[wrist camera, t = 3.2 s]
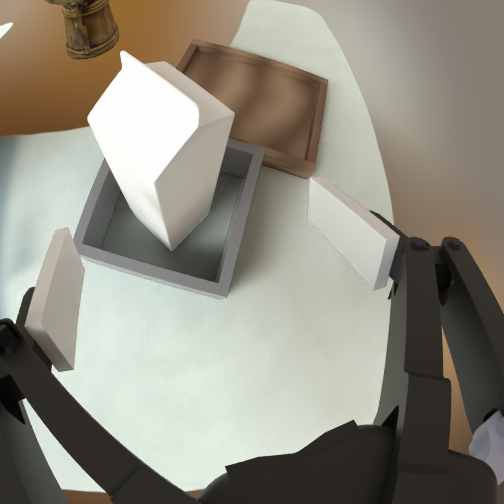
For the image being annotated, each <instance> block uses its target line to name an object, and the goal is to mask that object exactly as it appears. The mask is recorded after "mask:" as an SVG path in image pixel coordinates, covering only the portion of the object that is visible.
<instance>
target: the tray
mask: <svg viewBox="0 0 504 504" xmlns="http://www.w3.org/2000/svg"><path fill="white" fill-rule="evenodd" d="M176 69H177V70H178V71H180V72H181V73H183V74H184V75H185V76H187V77H188V78H190V79H191V80H192V81H194V82H195V83H196V84H198V85H199V86H200V87H202V88H203V89H204V90H206V91H207V92H208V93H210V94H211V95H212V96H214V97H215V98H216V99H218V100H219V101H220V102H221V103H223V104H224V105H225V106H227V107H228V108H229V109H230V110H232V111H233V112H234V113H235V115H234V119H233V123H232V126H231V130H230V134H229V137H228V138H230V139H233V140H237V141H240V142H243V143H247V144H250V145H253V146H256V147H260V148H263V149H265V152H264V155H263V159H262V163H261V165H265V166H268V167H271V168H274V169H277V170H280V171H283V172H286V173H289V174H292V175H295V176H298V177H301V178H304V179H307V178H308V177H309V176H310V175H311V174H312V173H313V171H314V167H315V161H316V156H317V150H318V143H319V137H320V131H321V125H322V118H323V112H324V105H325V98H326V91H327V84H328V80H327V79H324V78H322V77H319V76H317V75H314V74H312V73H309V72H306V71H304V70H301V69H298V68H295V67H293V66H290V65H287V64H284V63H281V62H278V61H275V60H272V59H268V58H265V57H262V56H259V55H255V54H252V53H248V52H245V51H241V50H237V49H233V48H229V47H225V46H221V45H217V44H213V43H208V42H203V41H199V40H193V41H192V43H191V44H190V46H189V48H188V49H187V51H186V53H185V54H184V56H183V58H182V59H181V61H180V63H179V65H178V66H177V68H176Z"/></svg>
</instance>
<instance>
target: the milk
mask: <svg viewBox="0 0 504 504" xmlns="http://www.w3.org/2000/svg"><path fill="white" fill-rule="evenodd" d="M120 56H121V62H122V70H121V71H120V72H119V73H118V75H117V76H116V77H115V79H114V80H113V81H112V83H111V84H110V85H109V87H108V88H107V89H106V91H105V92H104V94H103V95H102V96H101V98H100V99H99V101H98V102H97V103H96V105H95V106H94V108H93V109H92V111H91V112H90V114H89V116H88V118H87V119H88V122H89V124H90V126H91V129H92V131H93V133H94V135H95V137H96V139H97V142H98V144H99V146H100V148H101V150H102V152H103V154H104V156H105V159H106V161H107V163H108V165H109V167H110V169H111V171H112V173H113V175H114V177H115V179H116V181H117V183H118V185H119V187H120V189H121V191H122V193H123V195H124V197H125V198H126V200H127V202H128V204H129V206H130V208H131V210H132V212H133V214H134V215H135V216H136V217H137V218H138V219H139V220H140V221H141V222H142V223H143V224H144V225H145V226H146V227H147V228H148V229H149V230H150V231H151V232H152V233H153V234H154V235H155V236H156V237H157V238H158V239H159V240H160V241H161V242H162V243H163V244H164V245H165V246H166V247H167V248H168V249H169V250H170V251H173V250H174V249H175V248H176V247H177V246H178V245H179V244H180V243H181V242H182V241H183V240H184V239H185V238H186V237H187V235H188V234H189V233H190V232H191V231H192V230H193V229H194V228H195V227H196V226H197V225H198V224H199V223H200V222H201V221H202V220H203V219H204V218H205V217H206V216H207V215H208V214H209V212H210V208H211V204H212V200H213V195H214V191H215V187H216V183H217V179H218V175H219V171H220V168H221V164H222V160H223V156H224V152H225V148H226V145H227V141H228V137H229V134H230V130H231V126H232V123H233V119H234V115H235V113H234V112H233V111H232V110H230V109H229V108H228V107H227V106H225V105H224V104H223V103H221V102H220V101H219V100H218V99H216V98H215V97H214V96H212V95H211V94H210V93H208V92H207V91H206V90H204V89H203V88H202V87H200V86H199V85H198V84H196V83H195V82H194V81H192V80H191V79H190V78H188V77H187V76H185V75H184V74H183V73H181V72H180V71H178V70H177V69H176V68H174V67H173V66H171V65H170V64H168V63H167V62H165V61H163V62H155V63H148V64H143V63H141V62H140V61H138V60H137V59H136V58H134V57H133V56H131V55H130V54H128V53H127V52H125V51H121V52H120Z"/></svg>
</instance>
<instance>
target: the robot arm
mask: <svg viewBox="0 0 504 504" xmlns="http://www.w3.org/2000/svg"><path fill="white" fill-rule="evenodd" d="M308 221H309V222H310V223H311V224H312V225H313V226H314V227H315V228H316V229H317V230H318V231H319V232H320V233H321V234H322V235H323V237H324V238H325V239H326V240H327V241H328V242H329V243H330V244H331V245H332V246H333V247H334V248H335V249H336V250H337V251H338V253H339V254H340V255H341V256H342V257H343V258H344V259H345V260H346V261H347V262H348V263H349V265H350V266H351V267H352V268H353V269H354V270H355V271H356V272H357V273H358V274H359V276H360V277H361V278H362V279H363V280H364V281H365V282H366V283H367V285H368V286H369V287H370V288H371V289H372V290H373V291H374V290H377V289H380V288H382V287H385V286H386V284H387V281H388V277H389V276H390V277H391V278H392V279H393V280H394V282H393V285H392V288H391V291H390V294H389V297H388V299H390V298H391V310H390V323H389V335H388V345H387V354H386V362H385V369H384V377H383V383H382V390H381V396H380V402H379V408H378V412H377V415H376V417H375V419H374V422H373V425H358V426H357V424H356V423H355V421H354V420H352V421H350V422H347V423H345V424H343V425H341V426H339V427H336V428H334V429H332V430H330V431H327V432H325V433H324V434H322V435H321V436H320V437H318V438H317V439H316V440H314V441H313V442H311V443H310V444H309V445H307V446H306V447H304V448H303V449H301V450H300V451H298V452H296V453H292V454H283V455H274V456H262V457H256V458H253V459H250V460H246V461H243V462H239V463H236V464H232V465H228V466H225V468H226V471H227V473H225V474H223V475H221V476H219V477H218V478H217V479H215V480H214V481H213V482H211V483H210V484H209V485H208V486H207V487H206V488H205V490H204V491H203V492H202V494H201V495H200V497H199V498H198V500H197V499H195V498H193V497H192V496H190V495H189V494H187V493H186V492H184V491H183V490H181V489H180V488H178V487H177V486H175V485H174V484H172V483H171V482H170V481H168V480H167V479H165V478H164V477H163V476H161V475H160V474H159V473H157V472H156V471H155V470H153V469H152V468H151V467H149V466H148V465H147V464H145V463H144V462H143V461H142V460H140V459H139V458H138V457H137V456H135V455H134V454H133V453H132V452H131V451H129V450H128V449H127V448H126V447H125V446H123V445H122V444H121V443H120V442H119V441H118V440H117V439H115V438H114V437H113V436H112V435H111V434H110V433H109V432H108V431H107V430H106V429H104V428H103V427H102V426H101V425H100V424H99V423H98V422H97V421H96V420H95V419H94V418H93V417H92V416H91V415H90V414H89V413H88V412H87V411H86V410H85V409H84V408H83V407H82V406H81V405H80V404H79V403H78V402H77V401H76V400H75V399H74V397H73V396H72V395H71V394H70V393H69V392H68V391H67V390H66V389H65V388H64V386H63V385H62V384H61V383H60V382H59V381H58V380H57V378H56V377H55V376H54V375H53V374H52V373H51V368H52V364H53V366H54V367H55V368H56V369H57V371H58V372H62V371H68V370H74V362H75V347H76V335H77V324H78V315H79V307H80V299H81V292H82V285H83V279H84V273H85V269H84V266H83V264H82V262H81V259H80V257H79V254H78V252H77V249H76V247H75V244H74V242H73V239H72V236H71V234H70V231H69V228H68V227H67V228H63V229H60V230H56V231H55V233H54V236H53V238H52V241H51V243H50V246H49V249H48V251H47V254H46V257H45V260H44V262H43V265H42V268H41V271H40V274H39V277H38V280H37V284H36V287H32V288H29V289H28V291H27V292H26V294H25V295H24V297H23V300H22V303H21V307H20V310H19V314H18V317H17V320H16V324H14V323H13V321H12V320H11V319H8V318H4V319H1V320H0V504H70V503H69V502H68V500H67V498H66V497H65V495H64V493H63V491H62V490H61V488H60V486H59V484H58V482H57V480H56V478H55V477H54V475H53V473H52V471H51V469H50V467H49V465H48V463H47V461H46V458H45V456H44V454H43V452H42V450H41V447H40V445H39V443H38V441H37V438H36V436H35V433H34V431H33V429H32V426H31V423H30V421H29V418H28V415H27V413H26V410H25V407H24V404H23V401H22V400H23V399H25V398H26V399H27V401H28V402H29V403H30V405H31V406H32V408H33V409H34V411H35V412H36V413H37V415H38V416H39V417H40V419H41V420H42V421H43V423H44V424H45V425H46V427H47V428H48V429H49V430H50V432H51V433H52V434H53V435H54V437H55V438H56V439H57V440H58V442H59V443H60V444H61V445H62V446H63V448H64V449H65V450H66V451H67V452H68V453H69V454H70V456H71V457H72V458H73V459H74V460H75V461H76V462H77V463H78V464H79V465H80V466H81V468H82V469H83V470H84V471H85V472H86V473H87V474H88V475H89V476H90V477H91V478H92V479H93V480H94V481H95V482H96V483H97V484H98V485H99V486H100V487H101V488H102V489H103V490H105V491H106V492H107V493H108V494H109V496H110V500H111V501H112V502H113V503H114V504H499V499H498V485H499V484H500V483H501V482H502V481H503V480H504V314H503V312H502V310H501V308H500V306H499V304H498V302H497V300H496V298H495V296H494V294H493V292H492V291H491V289H490V287H489V285H488V283H487V281H486V280H485V278H484V276H483V275H482V272H481V271H480V269H479V267H478V266H477V264H476V262H475V261H474V259H473V257H472V256H471V254H470V252H469V251H468V249H467V248H466V246H465V245H464V244H463V243H462V242H461V241H459V239H457V238H454V237H445V238H443V240H442V243H441V246H431V245H430V244H429V243H428V242H427V241H425V240H423V239H421V238H418V237H410V238H408V237H407V236H406V235H404V234H403V233H402V232H401V231H400V230H398V229H397V228H396V227H395V226H394V225H392V224H391V223H390V222H389V221H386V219H385V218H384V217H382V216H381V215H380V214H378V213H375V212H373V211H371V210H370V211H368V210H367V209H366V208H364V207H363V206H362V205H361V204H359V203H358V202H357V201H355V200H354V199H353V198H352V197H350V196H349V195H348V194H346V193H345V192H344V191H342V190H341V189H340V188H338V187H337V186H336V185H334V184H333V183H331V182H330V181H329V180H327V179H326V178H325V177H323V176H315V177H310V189H309V207H308ZM453 281H454V283H453ZM441 325H442V328H443V331H444V334H445V337H446V340H447V343H448V346H449V349H450V353H451V357H452V360H453V364H454V367H455V370H456V374H457V378H458V382H459V386H460V390H461V394H462V399H463V403H464V407H465V412H466V415H467V419H468V423H469V425H470V428H471V431H472V433H473V442H472V443H471V444H470V446H469V453H470V454H471V455H472V456H475V457H472V456H468V455H465V454H462V453H459V452H455V451H452V450H449V449H448V448H449V436H450V421H451V382H450V380H449V379H448V378H444V376H443V347H442V328H441Z"/></svg>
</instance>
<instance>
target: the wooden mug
mask: <svg viewBox="0 0 504 504" xmlns="http://www.w3.org/2000/svg"><path fill="white" fill-rule="evenodd" d="M45 1H47V2H48V3H51V4H57V5H62V13H63V15H64V18H65V27H66V35H67V41H66V47H67V52H68V54H69V56H70V57H71V58H73V59H88V58H93V57H96V56H99V55H101V54H103V53H105V52H107V51H108V50H110V49H111V48H113V47H114V45H115V44H116V43H117V41H118V40H119V31H118V26H117V24H116V23H115V21H114V18H113V15H112V13H111V9H110V6H109V0H45Z"/></svg>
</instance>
